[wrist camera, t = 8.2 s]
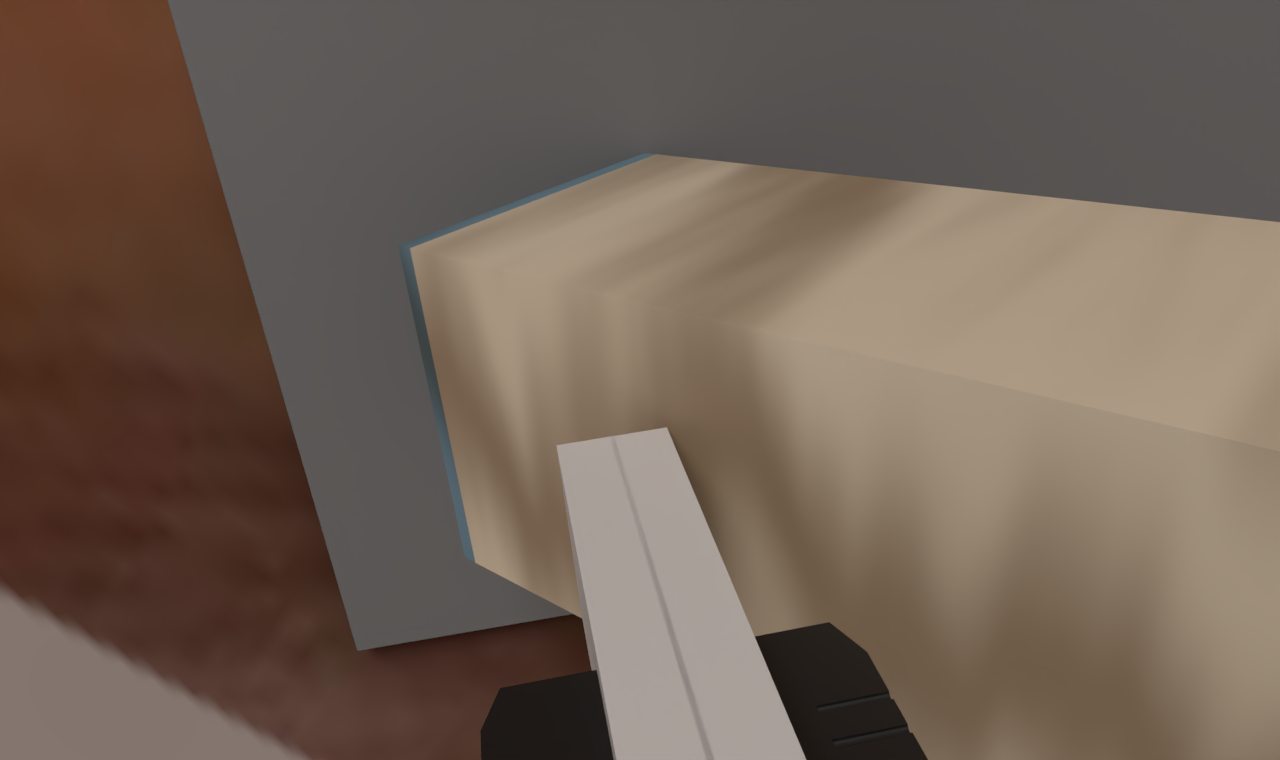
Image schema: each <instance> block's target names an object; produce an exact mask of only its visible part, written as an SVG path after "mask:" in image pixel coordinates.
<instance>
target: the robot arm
mask: <svg viewBox="0 0 1280 760" xmlns="http://www.w3.org/2000/svg"><path fill="white" fill-rule="evenodd" d="M556 446H557V453H558V460H559V466H560V473H561V480H562V487H563V493H564V500H565V507H566V514H567V520H568V527H569V534H570V540H571V547H572V554H573V561H574V567H575V574H576V581H577V588H578V594H579V601H580V608H581V614H582V620H583V625H584V631H585V636H586V642H587V647H588V653H589V658H590V664H591V669H592V671H588V672H583V673H577V674H572V675H567V676H562V677H557V678H551V679H546V680H541V681H536V682H531V683H525V684H520V685H515V686H510V687H504V688H500V690H499V692H498V694H497V696H496V698H495V701H494V703H493V705H492V707H491V709H490V712H489V714H488V716H487V718H486V720H485V723H484V725H483V727H482V729H481V758H482V760H928V759H927V757H926V755H925V754H924V752H923V750H922V748H921V746H920V745H919V743H918V741H917V739H916V738H915V736H914V734H913V732H912V733H910V731H909V729H908V723H907V722H906V720H905V718H904V716H903V715H902V713H901V711H900V709H899V708H898V706H897V704H896V702H895V700H894V699H891V697H890V694H889V690H888V688H887V686H886V685H885V683H884V681H883V679H882V677H881V676H880V674H879V672H878V670H877V669H876V667H875V665H874V663H873V662H872V660H871V658H870V656H869V654H868V653H867V651H865V650H864V649H863V648H862V647H860V646H859V645H858V644H856V643H855V642H854V641H853V640H851V639H850V638H849V637H848V636H846V635H845V634H844V633H843V632H841V631H840V630H839V629H837V628H836V627H835V626H834V625H832V624H831V623H830V622H827V623H822V624H817V625H812V626H807V627H801V628H796V629H791V630H786V631H781V632H775V633H770V634H765V635H760V636H754V634H753V632H752V629H751V627H750V624H749V622H748V620H747V617H746V615H745V612H744V610H743V608H742V605H741V603H740V601H739V598H738V596H737V593H736V591H735V589H734V586H733V584H732V581H731V579H730V577H729V574H728V572H727V570H726V567H725V565H724V562H723V560H722V558H721V555H720V553H719V550H718V548H717V546H716V543H715V541H714V539H713V536H712V534H711V531H710V529H709V527H708V524H707V522H706V519H705V517H704V515H703V512H702V510H701V508H700V505H699V503H698V500H697V498H696V496H695V493H694V491H693V489H692V486H691V484H690V481H689V479H688V477H687V474H686V472H685V469H684V467H683V465H682V462H681V460H680V458H679V455H678V453H677V450H676V448H675V446H674V443H673V441H672V438H671V436H670V434H669V431H668V429H667V427H666V428H660V429H654V430H648V431H642V432H636V433H630V434H623V435H617V436H610V437H604V438H598V439H592V440H586V441H580V442H574V443H568V444H562V445H556Z"/></svg>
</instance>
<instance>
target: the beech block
mask: <svg viewBox="0 0 1280 760" xmlns="http://www.w3.org/2000/svg"><path fill="white" fill-rule="evenodd" d="M398 248H399V252H400V257H401V262H402V266H403V271H404V276H405V280H406V285H407V290H408V294H409V299H410V304H411V308H412V313H413V318H414V322H415V327H416V332H417V336H418V341H419V346H420V351H421V355H422V360H423V365H424V369H425V374H426V379H427V383H428V388H429V393H430V397H431V402H432V407H433V411H434V416H435V421H436V425H437V430H438V435H439V439H440V444H441V449H442V453H443V458H444V463H445V467H446V472H447V477H448V482H449V486H450V491H451V496H452V500H453V505H454V510H455V514H456V519H457V524H458V528H459V533H460V538H461V542H462V547H463V552H464V556H465V558H467V559H469V560H471V561H473V562H475V563H477V564H479V565H481V566H483V567H484V568H486V569H488V570H490V571H492V572H494V573H496V574H498V575H500V576H502V577H504V578H506V579H507V580H509V581H511V582H513V583H515V584H517V585H519V586H521V587H523V588H525V589H527V590H529V591H530V592H532V593H534V594H536V595H538V596H540V597H542V598H544V599H546V600H548V601H550V602H551V603H553V604H555V605H557V606H559V607H561V608H563V609H565V610H567V611H569V612H571V613H573V614H574V615H576V616H578V617H580V618H582V614H581V608H580V601H579V594H578V588H577V581H576V574H575V567H574V561H573V554H572V547H571V540H570V534H569V527H568V520H567V514H566V507H565V500H564V493H563V487H562V480H561V473H560V466H559V460H558V453H557V446H556V445H562V444H568V443H574V442H580V441H586V440H592V439H598V438H604V437H610V436H617V435H623V434H630V433H636V432H642V431H648V430H654V429H660V428H666V427H667V429H668V431H669V434H670V436H671V438H672V441H673V443H674V446H675V448H676V450H677V453H678V455H679V458H680V460H681V462H682V465H683V467H684V469H685V472H686V474H687V477H688V479H689V481H690V484H691V486H692V489H693V491H694V493H695V496H696V498H697V500H698V503H699V505H700V508H701V510H702V512H703V515H704V517H705V519H706V522H707V524H708V527H709V529H710V531H711V534H712V536H713V539H714V541H715V543H716V546H717V548H718V550H719V553H720V555H721V558H722V560H723V562H724V565H725V567H726V570H727V572H728V574H729V577H730V579H731V581H732V584H733V586H734V589H735V591H736V593H737V596H738V598H739V601H740V603H741V605H742V608H743V610H744V612H745V615H746V617H747V620H748V622H749V624H750V627H751V629H752V632H753V634H754V636H760V635H765V634H770V633H775V632H781V631H786V630H791V629H796V628H801V627H807V626H812V625H817V624H822V623H827V622H830V623H831V624H832V625H834V626H835V627H836V628H837V629H839V630H840V631H841V632H843V633H844V634H845V635H846V636H848V637H849V638H850V639H851V640H853V641H854V642H855V643H856V644H858V645H859V646H860V647H862V648H863V649H864V650H865V651H867V653H868V654H869V656H870V658H871V660H872V662H873V663H874V665H875V667H876V669H877V670H878V672H879V674H880V676H881V677H882V679H883V681H884V683H885V685H886V686H887V688H888V690H889V694H890V697H891V699H894V700H895V702H896V704H897V706H898V708H899V709H900V711H901V713H902V715H903V716H904V718H905V720H906V722H907V723H908V729H909V731H910V733H912V732H913V734H914V736H915V738H916V739H917V741H918V743H919V745H920V746H921V748H922V750H923V752H924V754H925V755H926V757H927V759H928V760H1280V222H1273V221H1264V220H1255V219H1246V218H1237V217H1227V216H1218V215H1209V214H1200V213H1191V212H1182V211H1172V210H1163V209H1154V208H1145V207H1136V206H1127V205H1117V204H1108V203H1099V202H1090V201H1081V200H1072V199H1062V198H1053V197H1044V196H1035V195H1026V194H1017V193H1007V192H998V191H989V190H980V189H971V188H962V187H952V186H943V185H934V184H925V183H916V182H907V181H897V180H888V179H879V178H870V177H861V176H852V175H842V174H833V173H824V172H815V171H806V170H797V169H787V168H778V167H769V166H760V165H751V164H742V163H732V162H723V161H714V160H705V159H696V158H686V157H677V156H668V155H659V154H650V153H643V154H640V155H638V156H635V157H632V158H630V159H627V160H624V161H622V162H619V163H616V164H614V165H611V166H608V167H606V168H603V169H600V170H598V171H595V172H592V173H590V174H587V175H584V176H582V177H579V178H576V179H574V180H571V181H568V182H566V183H563V184H560V185H558V186H555V187H552V188H550V189H547V190H544V191H542V192H539V193H536V194H534V195H531V196H529V197H526V198H523V199H521V200H518V201H515V202H513V203H510V204H507V205H505V206H502V207H499V208H497V209H494V210H491V211H489V212H486V213H483V214H481V215H478V216H475V217H473V218H470V219H467V220H465V221H462V222H459V223H457V224H454V225H451V226H449V227H446V228H443V229H441V230H438V231H435V232H433V233H430V234H427V235H425V236H422V237H419V238H417V239H414V240H411V241H409V242H406V243H403V244H401V245H398Z"/></svg>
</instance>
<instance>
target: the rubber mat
mask: <svg viewBox="0 0 1280 760" xmlns="http://www.w3.org/2000/svg"><path fill="white" fill-rule="evenodd" d="M168 3H169V7H170V10H171V13H172V17H173V20H174V24H175V27H176V31H177V34H178V37H179V41H180V44H181V48H182V51H183V55H184V58H185V61H186V65H187V68H188V72H189V75H190V79H191V82H192V85H193V89H194V92H195V96H196V99H197V103H198V106H199V109H200V113H201V116H202V120H203V123H204V127H205V130H206V133H207V137H208V140H209V144H210V147H211V151H212V154H213V157H214V161H215V164H216V168H217V171H218V175H219V178H220V181H221V185H222V188H223V192H224V195H225V199H226V202H227V205H228V209H229V212H230V216H231V219H232V223H233V226H234V229H235V233H236V236H237V240H238V243H239V247H240V250H241V253H242V257H243V260H244V264H245V267H246V271H247V274H248V277H249V281H250V284H251V288H252V291H253V295H254V298H255V301H256V305H257V308H258V312H259V315H260V319H261V322H262V325H263V329H264V332H265V336H266V339H267V343H268V346H269V349H270V353H271V356H272V360H273V363H274V367H275V370H276V373H277V377H278V380H279V384H280V387H281V391H282V394H283V397H284V401H285V404H286V408H287V411H288V415H289V418H290V421H291V425H292V428H293V432H294V435H295V439H296V442H297V445H298V449H299V452H300V456H301V459H302V463H303V466H304V469H305V473H306V476H307V480H308V483H309V487H310V490H311V493H312V497H313V500H314V504H315V507H316V511H317V514H318V517H319V521H320V524H321V528H322V531H323V535H324V538H325V541H326V545H327V548H328V552H329V555H330V559H331V562H332V565H333V569H334V572H335V576H336V579H337V583H338V586H339V589H340V593H341V596H342V600H343V603H344V607H345V610H346V613H347V617H348V620H349V624H350V627H351V631H352V634H353V637H354V641H355V644H356V648H357V651H359V650H365V649H371V648H377V647H383V646H389V645H395V644H400V643H406V642H412V641H418V640H424V639H430V638H435V637H441V636H447V635H453V634H459V633H465V632H471V631H476V630H482V629H488V628H494V627H500V626H506V625H511V624H517V623H523V622H529V621H535V620H541V619H547V618H552V617H558V616H564V615H570V614H573V613H571V612H569V611H567V610H565V609H563V608H561V607H559V606H557V605H555V604H553V603H551V602H550V601H548V600H546V599H544V598H542V597H540V596H538V595H536V594H534V593H532V592H530V591H529V590H527V589H525V588H523V587H521V586H519V585H517V584H515V583H513V582H511V581H509V580H507V579H506V578H504V577H502V576H500V575H498V574H496V573H494V572H492V571H490V570H488V569H486V568H484V567H483V566H481V565H479V564H477V563H475V562H473V561H471V560H469V559H467V558H465V556H464V552H463V547H462V542H461V538H460V533H459V528H458V524H457V519H456V514H455V510H454V505H453V500H452V496H451V491H450V486H449V482H448V477H447V472H446V467H445V463H444V458H443V453H442V449H441V444H440V439H439V435H438V430H437V425H436V421H435V416H434V411H433V407H432V402H431V397H430V393H429V388H428V383H427V379H426V374H425V369H424V365H423V360H422V355H421V351H420V346H419V341H418V336H417V332H416V327H415V322H414V318H413V313H412V308H411V304H410V299H409V294H408V290H407V285H406V280H405V276H404V271H403V266H402V262H401V257H400V252H399V248H398V245H401V244H403V243H406V242H409V241H411V240H414V239H417V238H419V237H422V236H425V235H427V234H430V233H433V232H435V231H438V230H441V229H443V228H446V227H449V226H451V225H454V224H457V223H459V222H462V221H465V220H467V219H470V218H473V217H475V216H478V215H481V214H483V213H486V212H489V211H491V210H494V209H497V208H499V207H502V206H505V205H507V204H510V203H513V202H515V201H518V200H521V199H523V198H526V197H529V196H531V195H534V194H536V193H539V192H542V191H544V190H547V189H550V188H552V187H555V186H558V185H560V184H563V183H566V182H568V181H571V180H574V179H576V178H579V177H582V176H584V175H587V174H590V173H592V172H595V171H598V170H600V169H603V168H606V167H608V166H611V165H614V164H616V163H619V162H622V161H624V160H627V159H630V158H632V157H635V156H638V155H640V154H643V153H650V154H659V155H668V156H677V157H686V158H696V159H705V160H714V161H723V162H732V163H742V164H751V165H760V166H769V167H778V168H787V169H797V170H806V171H815V172H824V173H833V174H842V175H852V176H861V177H870V178H879V179H888V180H897V181H907V182H916V183H925V184H934V185H943V186H952V187H962V188H971V189H980V190H989V191H998V192H1007V193H1017V194H1026V195H1035V196H1044V197H1053V198H1062V199H1072V200H1081V201H1090V202H1099V203H1108V204H1117V205H1127V206H1136V207H1145V208H1154V209H1163V210H1172V211H1182V212H1191V213H1200V214H1209V215H1218V216H1227V217H1237V218H1246V219H1255V220H1264V221H1273V222H1280V0H168Z"/></svg>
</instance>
